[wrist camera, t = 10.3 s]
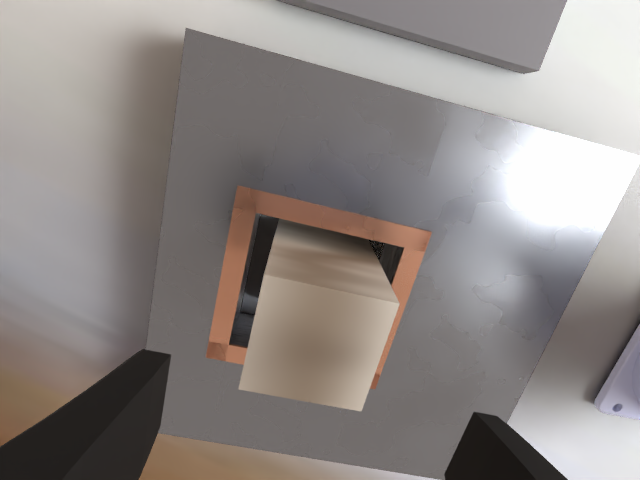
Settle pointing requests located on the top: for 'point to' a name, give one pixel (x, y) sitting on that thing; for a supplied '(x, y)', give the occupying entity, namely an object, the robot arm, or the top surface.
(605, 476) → the top surface
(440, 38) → the gray square plate
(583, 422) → the top surface
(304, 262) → the peg
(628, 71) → the top surface
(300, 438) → the hole plate
